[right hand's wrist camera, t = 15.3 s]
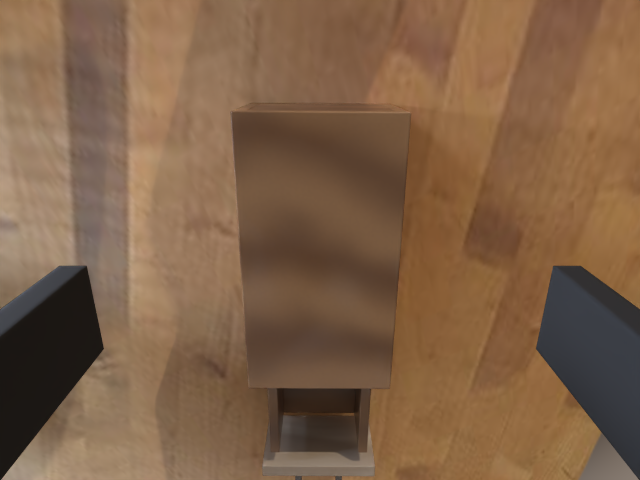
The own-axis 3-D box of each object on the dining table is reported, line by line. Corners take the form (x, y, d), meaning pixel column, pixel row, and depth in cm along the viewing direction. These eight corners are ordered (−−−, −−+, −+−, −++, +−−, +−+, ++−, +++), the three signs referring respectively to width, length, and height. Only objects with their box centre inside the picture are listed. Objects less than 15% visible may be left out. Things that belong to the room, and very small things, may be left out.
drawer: (365, 467, 48) (371, 522, 42) (272, 467, 47) (265, 522, 42) (377, 244, 38) (388, 275, 32) (262, 243, 38) (251, 274, 32)
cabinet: (377, 332, 43) (390, 389, 35) (261, 332, 42) (248, 388, 35) (391, 103, 35) (411, 112, 27) (249, 103, 35) (230, 111, 27)
